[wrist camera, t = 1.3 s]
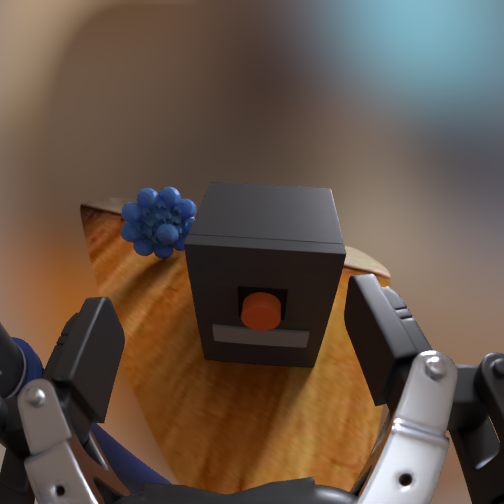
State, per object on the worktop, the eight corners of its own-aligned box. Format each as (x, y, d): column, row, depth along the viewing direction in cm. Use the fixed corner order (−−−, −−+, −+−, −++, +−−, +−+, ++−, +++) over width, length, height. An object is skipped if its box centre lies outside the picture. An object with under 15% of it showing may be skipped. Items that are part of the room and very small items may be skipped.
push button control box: (204, 361, 33) (182, 246, 23) (219, 293, 41) (210, 181, 31) (313, 369, 32) (346, 256, 22) (311, 299, 41) (331, 188, 30)
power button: (241, 329, 27) (240, 305, 25) (243, 315, 28) (242, 290, 26) (278, 332, 26) (281, 308, 24) (279, 318, 28) (282, 293, 26)
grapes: (139, 288, 42) (118, 214, 34) (127, 261, 46) (108, 192, 38) (214, 259, 47) (208, 186, 39) (195, 236, 51) (187, 168, 43)
